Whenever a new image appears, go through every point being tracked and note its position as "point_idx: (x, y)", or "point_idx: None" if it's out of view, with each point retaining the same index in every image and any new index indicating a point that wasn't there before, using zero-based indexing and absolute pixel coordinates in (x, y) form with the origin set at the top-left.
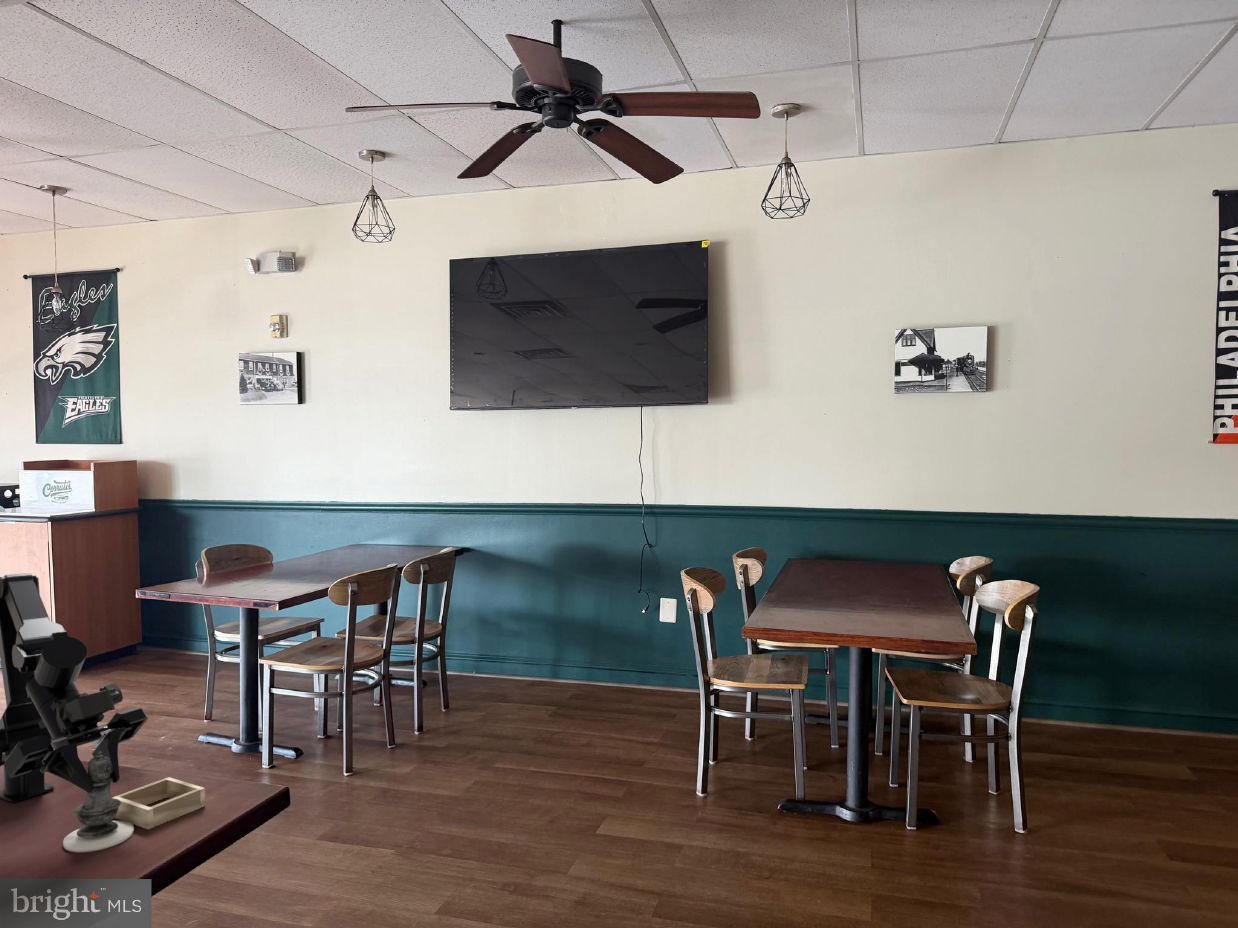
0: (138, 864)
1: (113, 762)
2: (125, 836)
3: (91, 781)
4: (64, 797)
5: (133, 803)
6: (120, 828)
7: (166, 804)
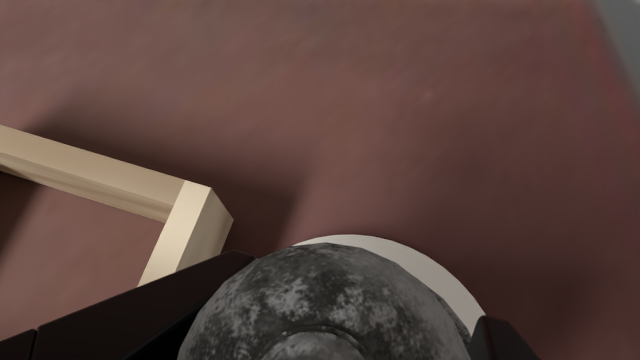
0: (505, 46)
1: (147, 326)
2: (345, 235)
3: (496, 344)
4: None
5: None
6: None
7: (123, 162)
